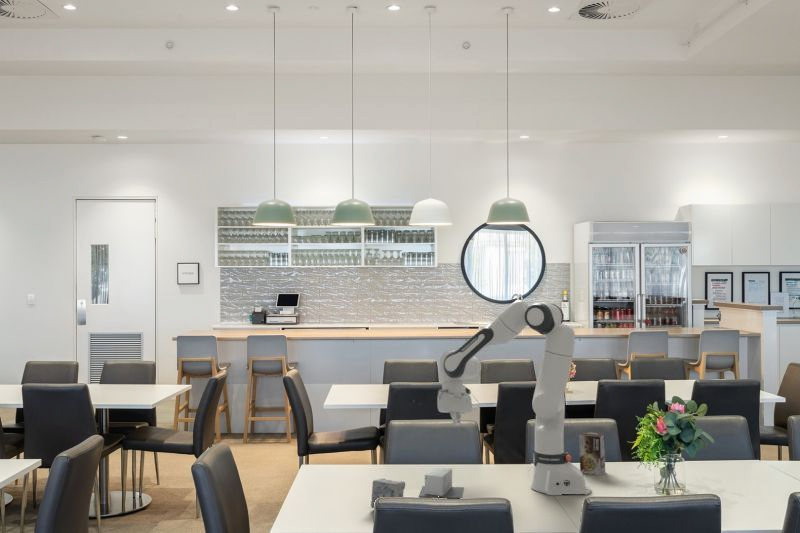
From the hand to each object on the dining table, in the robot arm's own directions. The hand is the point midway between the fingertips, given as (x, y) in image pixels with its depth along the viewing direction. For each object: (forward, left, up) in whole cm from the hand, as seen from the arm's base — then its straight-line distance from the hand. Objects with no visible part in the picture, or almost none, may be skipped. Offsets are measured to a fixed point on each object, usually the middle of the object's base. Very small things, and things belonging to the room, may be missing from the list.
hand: (457, 423), depth 291 cm
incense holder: (+22, +44, -22) cm, 53 cm away
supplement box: (+4, +15, -18) cm, 23 cm away
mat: (+5, +22, -22) cm, 31 cm away
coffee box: (-55, -12, -22) cm, 61 cm away
